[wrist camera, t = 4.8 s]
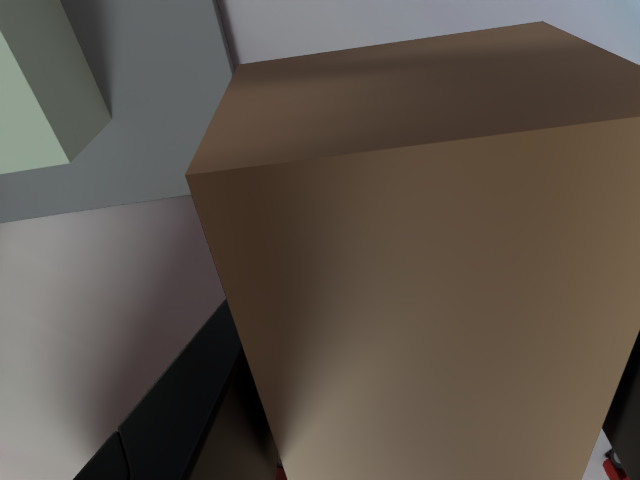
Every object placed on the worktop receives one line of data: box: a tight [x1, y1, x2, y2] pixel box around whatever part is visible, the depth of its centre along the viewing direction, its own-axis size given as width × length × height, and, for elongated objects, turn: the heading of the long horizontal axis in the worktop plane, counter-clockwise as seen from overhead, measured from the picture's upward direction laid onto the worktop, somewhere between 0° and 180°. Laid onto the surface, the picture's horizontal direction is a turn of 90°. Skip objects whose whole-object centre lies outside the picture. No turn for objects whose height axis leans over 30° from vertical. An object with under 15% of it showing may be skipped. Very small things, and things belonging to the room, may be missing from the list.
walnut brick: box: [185, 21, 640, 480], centre depth 7 cm, size 4×7×4 cm, turn 7°
